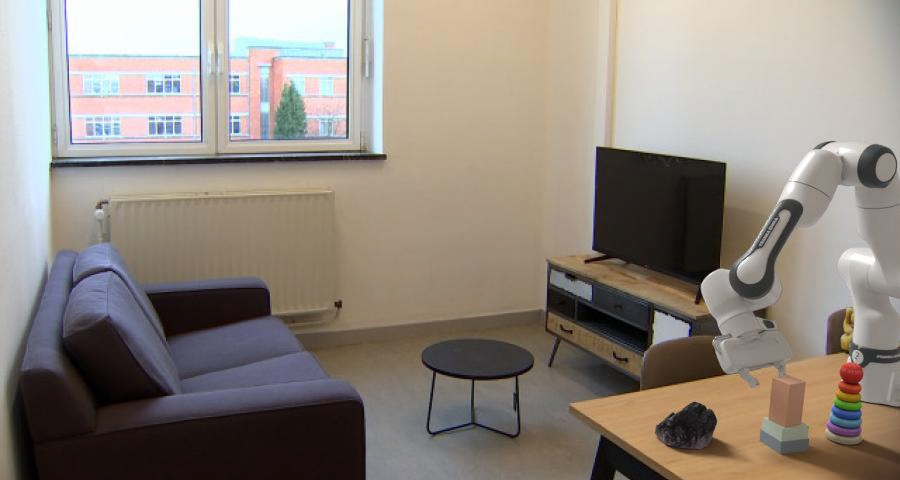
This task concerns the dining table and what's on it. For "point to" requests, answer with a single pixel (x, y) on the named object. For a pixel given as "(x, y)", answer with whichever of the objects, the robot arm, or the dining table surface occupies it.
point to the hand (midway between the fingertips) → (770, 383)
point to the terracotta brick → (786, 400)
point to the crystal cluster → (688, 427)
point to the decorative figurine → (848, 330)
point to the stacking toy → (847, 407)
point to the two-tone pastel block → (784, 437)
